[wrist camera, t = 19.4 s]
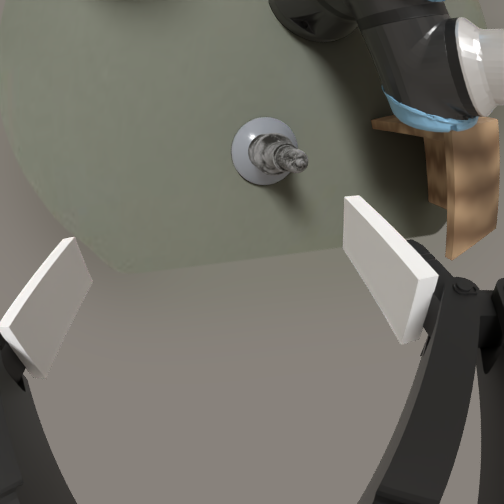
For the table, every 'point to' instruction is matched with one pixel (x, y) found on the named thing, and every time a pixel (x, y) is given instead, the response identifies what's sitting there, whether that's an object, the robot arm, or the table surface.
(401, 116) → the robot arm
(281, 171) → the grey figurine
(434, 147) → the walnut shelf
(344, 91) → the table surface
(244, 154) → the saucer
